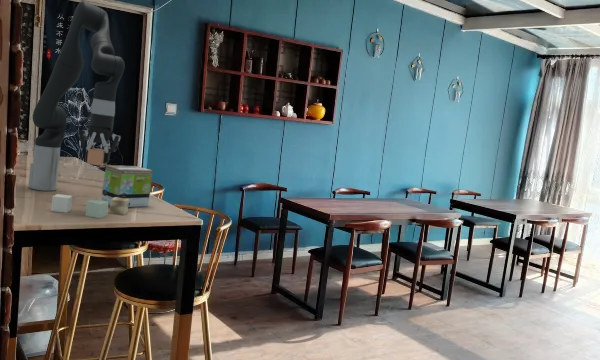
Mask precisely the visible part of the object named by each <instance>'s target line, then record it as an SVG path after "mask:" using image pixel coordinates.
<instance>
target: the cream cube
mask: <svg viewBox="0 0 600 360" xmlns="http://www.w3.org/2000/svg"><path fill="white" fill-rule="evenodd" d="M72 204H73V195H68V194H60V193H56V194H55V195H53V196H52V199H51V209H50V210H51V212H57V213H66V214H67V213H68V212H69V213H70V211H71V210H72Z"/></svg>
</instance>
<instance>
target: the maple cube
mask: <svg viewBox="0 0 600 360" xmlns="http://www.w3.org/2000/svg"><path fill="white" fill-rule="evenodd" d="M128 205H129V199H125V198H118V197H114V198H113V199H111V205H110V206H109V213H110V214H114V215H115V214H116V215H122V216H125V215H126V214H128V211H129V207H128Z"/></svg>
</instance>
